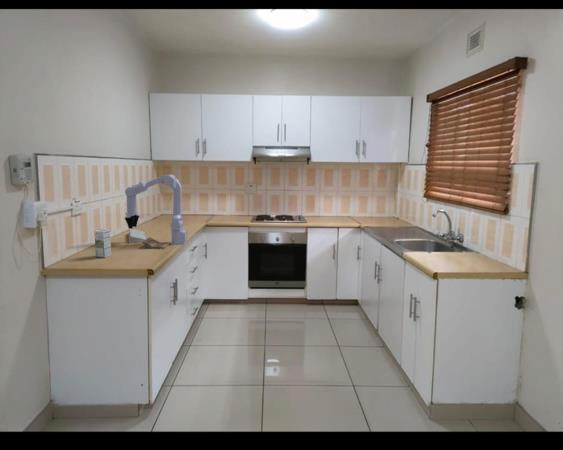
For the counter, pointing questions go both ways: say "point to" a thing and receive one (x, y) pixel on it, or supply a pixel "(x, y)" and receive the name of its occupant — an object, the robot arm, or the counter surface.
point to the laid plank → (162, 245)
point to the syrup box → (102, 243)
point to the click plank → (150, 242)
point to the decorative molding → (136, 236)
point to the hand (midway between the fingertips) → (132, 227)
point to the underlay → (149, 247)
